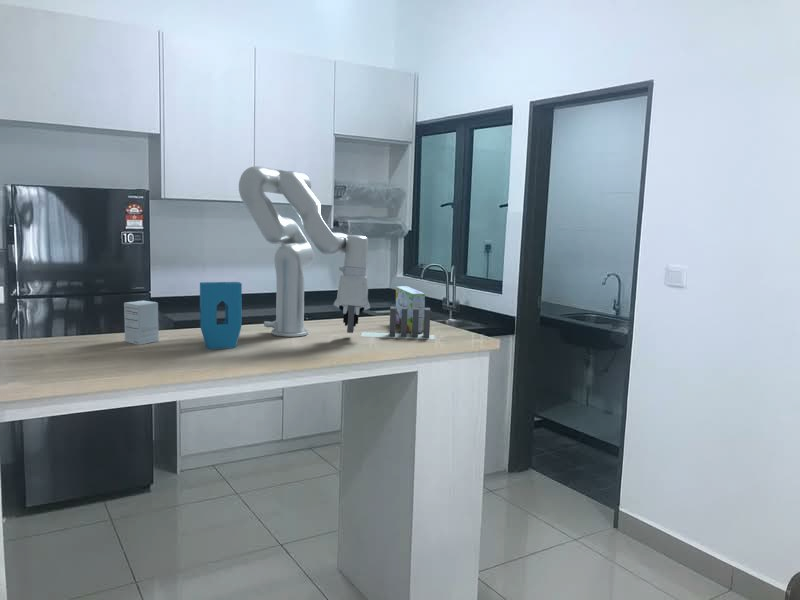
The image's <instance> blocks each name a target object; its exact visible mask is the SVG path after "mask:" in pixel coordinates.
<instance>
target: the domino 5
mask: <svg viewBox="0 0 800 600" xmlns="http://www.w3.org/2000/svg"><path fill="white" fill-rule="evenodd" d="M423 316H424V326H423V332H422V334H423V338H429V335H430V331H431V329H430V328H431V308H430V307H425V308H424V315H423Z"/></svg>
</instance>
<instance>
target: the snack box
mask: <svg viewBox="0 0 800 600" xmlns="http://www.w3.org/2000/svg"><path fill="white" fill-rule="evenodd" d="M425 305H426V293H425V292H422V291H419V290H417V289H415V288H412V287H410V286H408V285H404V286H403V285H401V286H399V285H398V286H395V307H396V325H397V326H399V327H401V314H402V307H407V331H408V332H410V333H412V322H413V317H412V314H413V307H419V321H418V333H423V326H424V316H423V315H424V308H426V307H425Z"/></svg>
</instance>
